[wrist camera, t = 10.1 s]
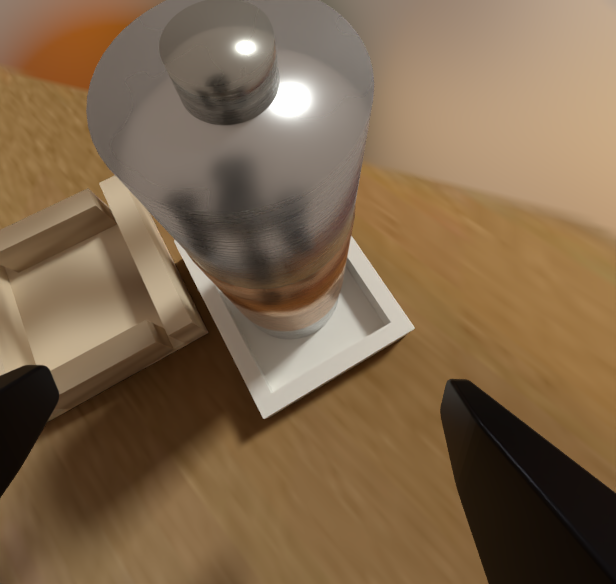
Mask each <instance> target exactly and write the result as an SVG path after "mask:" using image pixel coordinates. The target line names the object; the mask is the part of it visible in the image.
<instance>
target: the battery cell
mask: <svg viewBox="0 0 616 584" xmlns="http://www.w3.org/2000/svg"><path fill="white" fill-rule="evenodd" d="M373 93H374V77H373V69H372V65H371V61H370V57H369V55H368V52H367V50H366V48H365V45H364V43H363V42H362V40H361V39H360V37H359V35H358V34H357V32H356V31H355V30H354V28H353V27H352V26H351V25H350V24H349V23H348V22H347V20H346V19H345V18H343V17H342V16H341V15H340V14H339V13H337V12H336V11H335V10H334V9H332V8H331V7H329V6H327V5H326V4H325V3H323V2H322V1H319V0H166V1H164V2H162V3H160V4H159V5H157V6H155V7H154V8H151V9H150V10H148V11H147V12H145V13H144V14H142V15H141V16H140V17H138V18H137V19H135V20H134V21H133V22H132V23H131V24H130V25H128V26H127V27H126V28H125V29H124V30H123V31H122V32H121V33H120V34H119V35H118V36H117V37H116V38H115V39H114V41H113V42H112V43H111V44H110V46H109V47H108V48H107V50H106V51H105V53H104V54H103V56H102V58H101V59H100V61H99V63H98V65H97V67H96V69H95V72H94V74H93V77H92V79H91V82H90V87H89V91H88V96H87V120H88V128H89V131H90V134H91V138H92V141H93V143H94V145H95V147H96V149H97V152H98V154H99V155H100V157H101V158H102V160H103V161H104V162H105V164H106V165H107V167H108V168H109V169H110V170H111V171H112V172H113V173H114V174H115V175H116V177H117V178H118V179H119V180H120V181H121V182H122V183H123V184H124V185H125V186H126V187H127V188H128V189H129V191H130V192H131V193H132V194H133V195H134V196H135V197H136V198H137V199H138V200H139V201H140V202H141V203H142V205H143V206H144V207H145V208H146V209H147V210H148V211H149V212H150V213H151V214H152V215H153V216H154V217H155V219H156V220H157V221H158V222H159V223H160V224H161V225H162V226H163V227H164V228H165V229H166V230H167V231H168V233H169V234H170V235H171V236H172V237H173V238H174V239H175V240H176V241H177V242H178V243H179V244H180V245H181V246H182V248H183V249H184V250H185V251H186V252H187V254H188V255H189V257H190V258H191V259H192V261H193V262H194V263H195V264H196V265H197V266H198V267H199V268H200V269H201V271H202V272H203V273H204V274H205V275H206V276H207V277H208V278H209V279H210V280H211V281H212V282H213V283H214V284H215V285H216V286H217V287H218V288H219V290H220V291H221V292H222V293H223V294H224V295H225V296H226V297H227V298H228V299H229V300H230V301H231V302H232V303H233V304H234V305H235V306H236V307H237V308H238V310H239V311H240V312H241V313H242V314H243V315H244V316H245V317H246V318H248V319H249V320H250V321H251V322H252V323H253V324H254V325H255V326H256V327H257V328H258V329H260V330H261V331H262V332H264V333H266V334H268V335H270V336H273V337H276V338H280V339H298V338H303V337H306V336H309V335H311V334H313V333H315V332H316V331H318V330H319V329H321V328H322V327H323V326H324V325H325V324H326V323H327V322H328V321H329V320H330V318H331V317H332V315H333V313H334V312H335V309H336V307H337V304H338V299H339V294H340V291H341V287H342V283H343V278H344V272H345V267H346V261H347V256H348V250H349V245H350V239H351V234H352V228H353V223H354V216H355V201H356V195H357V190H358V184H359V178H360V172H361V166H362V161H363V155H364V149H365V143H366V137H367V132H368V125H369V120H370V114H371V108H372V103H373Z"/></svg>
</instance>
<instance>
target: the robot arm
mask: <svg viewBox="0 0 616 584" xmlns="http://www.w3.org/2000/svg"><path fill="white" fill-rule="evenodd" d="M58 401H59V390H58V388H57V386H56V383H55V381H54V378H53V376H52V374H51V371H50V369H49V368H48V367H47V366H44V365H24V366H22V367H19V368H17V369H15V370H12V371H10V372H8V373H5V374H3V375H1V376H0V498H1V496H2V495H3V493H4V492H5V490H6V489H7V488H8V486H9V485H10V483H11V482H12V480H13V479H14V477H15V476H16V474H17V473H18V471H19V470H20V468H21V467H22V465H23V463H24V462H25V460H26V458H27V457H28V455H29V453H30V451H31V449H32V448H33V446H34V444H35V442H36V441H37V439H38V437H39V435H40V434H41V432H42V430H43V428H44V427H45V425H46V423H47V421H48V419H49V418H50V416H51V414H52V412H53V411H54V409H55V407H56V405H57V403H58ZM440 414H441V420H442V425H443V429H444V434H445V438H446V443H447V447H448V452H449V456H450V461H451V465H452V470H453V474H454V479H455V483H456V487H457V490H458V493H459V496H460V500H461V503H462V506H463V509H464V512H465V515H466V518H467V521H468V524H469V526H470V529H471V532H472V535H473V538H474V541H475V544H476V547H477V550H478V553H479V556H480V559H481V562H482V565H483V568H484V571H485V574H486V577H487V580H488V583H489V584H616V493H615V492H614V491H612V490H611V489H610V488H608V487H607V486H606V485H604V484H603V483H602V482H601V481H599V480H598V479H597V478H595V477H594V476H593V475H591V474H590V473H589V472H588V471H586V470H585V469H584V468H582V467H581V466H580V465H578V464H577V463H576V462H575V461H573V460H572V459H571V458H569V457H568V456H567V455H565V454H564V453H563V452H562V451H560V450H559V449H558V448H556V447H555V446H554V445H553V444H551V443H550V442H549V441H547V440H546V439H545V438H543V437H542V436H541V435H540V434H538V433H537V432H536V431H534V430H533V429H532V428H530V427H529V426H528V425H527V424H525V423H524V422H523V421H521V420H520V419H519V418H517V417H516V416H515V415H514V414H512V413H511V412H510V411H508V410H507V409H506V408H504V407H503V406H502V405H501V404H499V403H498V402H497V401H495V400H494V399H493V398H492V397H490V396H489V395H488V394H486V393H485V392H484V391H482V390H481V389H480V388H479V387H477V386H476V385H475V384H473V383H472V382H471V381H469V380H466V379H449V380H448V381H447V383H446V386H445V390H444V395H443V399H442V403H441V409H440Z"/></svg>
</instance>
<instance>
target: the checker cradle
mask: <svg viewBox="0 0 616 584" xmlns="http://www.w3.org/2000/svg"><path fill="white" fill-rule="evenodd" d="M99 184H100V187H101V189H102V191H103V193H104V195H105V198H106V200H107V202H108V204H109V206H110V208H109V207H108V206H107V205H106V204H105V203H104V202H103V201H101V200H100V199H99V198H98V197H97V196H96V195H95V194H94V193H93V192H92V191H91V190H90V189H89V188H88V189H86V190H83V191H81V192H79V193H77V194H75V195H73V196H71V197H69V198H67V199H64V200H62V201H60V202H58V203H56V204H54V205H52V206H50V207H48V208H45V209H43V210H41V211H39V212H37V213H35V214H33V215H31V216H29V217H27V218H24V219H22V220H20V221H18V222H16V223H14V224H12V225H10V226H8V227H5V228H3V229H1V230H0V376H1V375H3V374H5V373H8V372H10V371H12V370H15V369H17V368H19V367H22V366H24V365H44V366H47V367H48V368H49V369H50V371H51V374H52V376H53V378H54V381H55V383H56V386H57V388H58V390H59V401H58V403H57V405H56V407H55V409H54V411H53V412H52V414H51V416H50V418H49V419H48V421H50V420H52V419H54V418H56V417H57V416H59V415H61V414H63V413H65V412H67V411H68V410H70V409H72V408H74V407H76V406H77V405H79V404H81V403H83V402H85V401H86V400H88V399H90V398H92V397H94V396H95V395H97V394H99V393H101V392H103V391H104V390H106V389H108V388H110V387H112V386H113V385H115V384H117V383H119V382H121V381H123V380H124V379H126V378H128V377H130V376H132V375H133V374H135V373H137V372H139V371H141V370H142V369H144V368H146V367H148V366H150V365H151V364H153V363H155V362H157V361H159V360H160V359H162V358H164V357H166V356H168V355H169V354H171V353H173V352H175V351H177V350H179V349H180V348H182V347H184V346H186V345H188V344H189V343H191V342H193V341H195V340H197V339H198V338H200V337H202V336H204V335H206V334H207V333H208V330H207V328H206V326H205V324H204V322H203V320H202V318H201V316H200V314H199V312H198V310H197V308H196V306H195V304H194V302H193V300H192V298H191V296H190V294H189V292H188V290H187V288H186V286H185V284H184V282H183V280H182V278H181V276H180V274H179V272H178V270H177V268H176V265H175V263H174V261H173V259H172V257H171V255H170V253H169V251H168V249H167V247H166V245H165V243H164V241H163V239H162V237H161V235H160V233H159V231H158V229H157V227H156V225H155V223H154V221H153V219H152V217H151V215H150V213H149V211H148V210H147V209H146V208H145V207H144V206H143V205H142V203H141V202H140V201H139V200H138V199H137V198H136V197H135V196H134V195H133V194H132V193H131V192H130V191H129V189H128V188H127V187H126V186H125V185H124V184H123V183H122V182H121V181H120V180H119V179H118V178H117V177H116V175H115V176H113V177H111V178H109V179H107V180H105V181H102V182H100V183H99ZM48 421H47V422H48Z"/></svg>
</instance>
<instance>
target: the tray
mask: <svg viewBox="0 0 616 584" xmlns="http://www.w3.org/2000/svg"><path fill="white" fill-rule="evenodd" d="M174 242H175V244H176V246H177V248H178V250H179V252H180V254H181V256H182V258H183V260H184V262H185V264H186V266H187V268H188V270H189V272H190V274H191V276H192V278H193V280H194V282H195V284H196V286H197V288H198V290H199V292H200V294H201V296H202V298H203V300H204V302H205V304H206V306H207V308H208V310H209V312H210V314H211V316H212V318H213V320H214V322H215V324H216V326H217V328H218V330H219V332H220V334H221V336H222V338H223V340H224V342H225V344H226V346H227V348H228V350H229V352H230V354H231V356H232V357H233V359H234V361H235V363H236V365H237V367H238V369H239V371H240V373H241V375H242V377H243V379H244V381H245V383H246V385H247V387H248V389H249V391H250V393H251V395H252V397H253V399H254V401H255V403H256V405H257V407H258V409H259V411H260V413H261V415H262V417H263V419H266V418H269V417H271V416H273V415H274V414H276V413H278V412H279V411H281V410H283V409H284V408H286V407H288V406H289V405H291V404H293V403H294V402H296V401H298V400H299V399H301V398H303V397H304V396H306V395H308V394H309V393H311V392H313V391H314V390H316V389H318V388H319V387H321V386H323V385H324V384H326V383H328V382H329V381H331V380H333V379H334V378H336V377H338V376H339V375H341V374H343V373H344V372H346V371H348V370H349V369H351V368H353V367H354V366H356V365H358V364H359V363H361V362H363V361H364V360H366V359H368V358H369V357H371V356H373V355H374V354H376V353H378V352H379V351H381V350H383V349H384V348H386V347H388V346H389V345H391V344H393V343H394V342H396V341H397V340H399V339H401V338H402V337H404V336H406V335H407V334H408V333H410V332H411V331H412V330H414V329H415V328H414V326H413V325H412V323H411V322H410V320H409V319H408V317H407V316H406V314H405V313H404V311H403V310H402V309H401V307H400V306H399V304H398V303H397V301H396V300H395V298H394V297H393V295H392V294H391V293H390V291H389V290H388V288H387V287H386V285H385V284H384V282H383V281H382V279H381V278H380V277H379V275H378V274H377V272H376V271H375V269H374V268H373V266H372V265H371V263H370V262H369V261H368V259H367V258H366V256H365V255H364V253H363V252H362V250H361V249H360V247H359V246H358V245H357V243H356V242H355V240H354V239H353V237H352V236H351V239H350V245H349V250H348V256H347V261H346V267H345V272H344V278H343V283H342V287H341V291H340V294H339V299H338V304H337V307H336V309H335V312H334V313H333V315H332V317H331V318H330V320H329V321H328V322H327V323H326V324H325V325H324V326H323V327H322V328H321V329H319V330H318V331H316V332H315V333H313V334H311V335H309V336H306V337H303V338H298V339H280V338H276V337H273V336H270V335H268V334H266V333H264V332H262V331H261V330H260V329H258V328H257V327H256V326H255V325H254V324H253V323H252V322H251V321H250V320H249V319H248V318H246V317H245V316H244V315H243V314H242V313H241V312H240V311H239V310H238V308H237V307H236V306H235V305H234V304H233V303H232V302H231V301H230V300H229V299H228V298H227V297H226V296H225V295H224V294H223V293H222V292H221V291H220V290H219V288H218V287H217V286H216V285H215V284H214V283H213V282H212V281H211V280H210V279H209V278H208V277H207V276H206V275H205V274H204V273H203V272H202V271H201V269H200V268H199V267H198V266H197V265H196V264H195V263H194V262H193V261H192V259H191V258H190V257H189V255H188V254H187V252H186V251H185V250H184V249H183V248H182V246H181V245H180V244H179V243H178V242H177V241H176V240H174Z"/></svg>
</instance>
